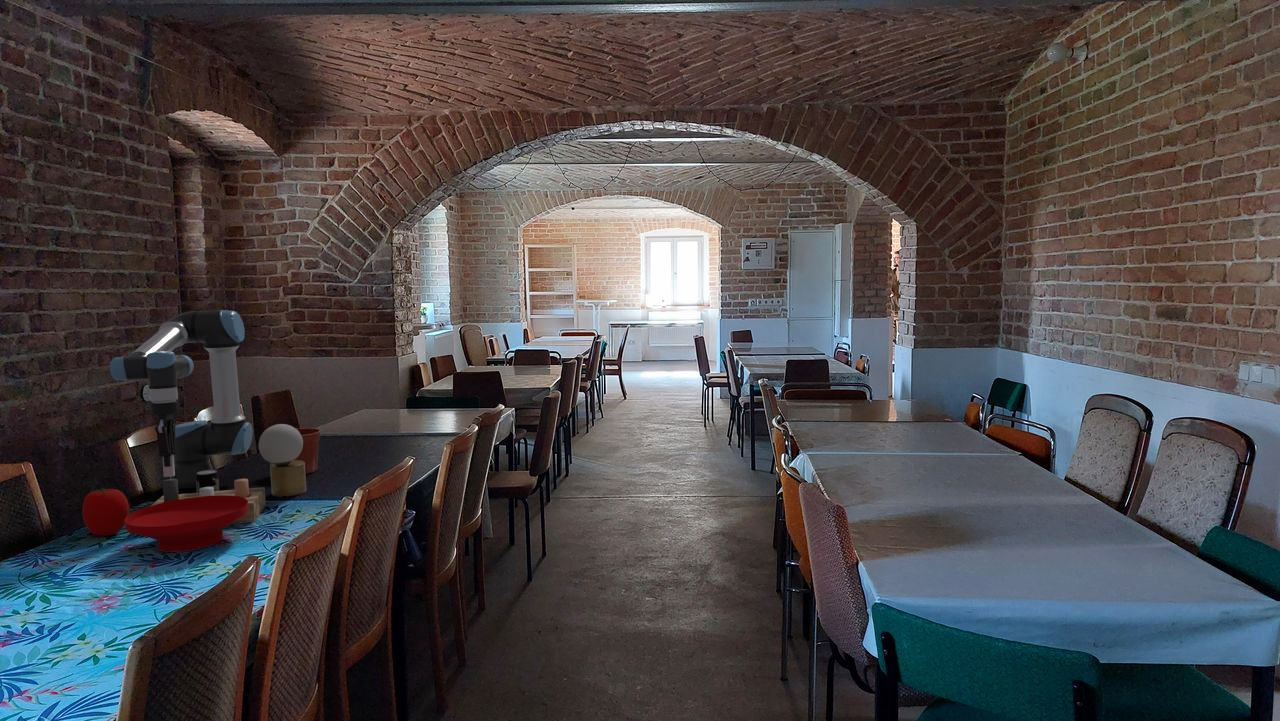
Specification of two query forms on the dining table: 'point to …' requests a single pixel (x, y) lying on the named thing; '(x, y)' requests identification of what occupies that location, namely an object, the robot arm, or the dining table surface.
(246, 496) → the plug terracotta
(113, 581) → the dining table surface
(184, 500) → the bowl
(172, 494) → the plug black
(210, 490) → the plug grey
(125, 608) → the dining table surface
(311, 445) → the flower pot
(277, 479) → the lamp
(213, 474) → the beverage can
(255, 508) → the plug board
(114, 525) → the tomato
